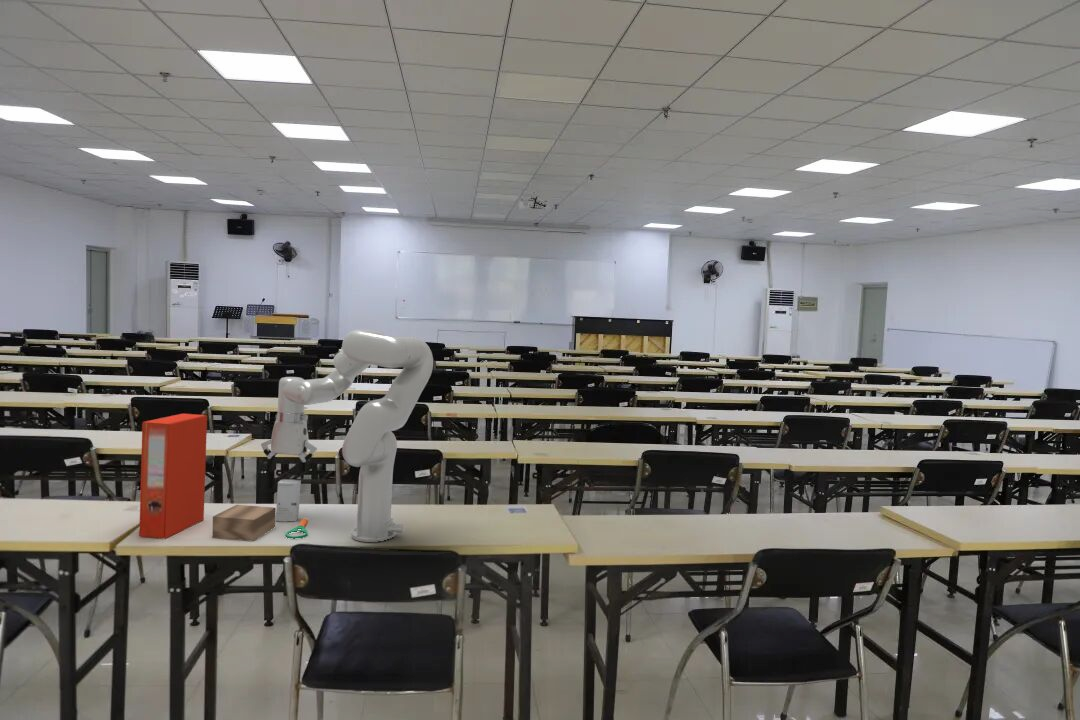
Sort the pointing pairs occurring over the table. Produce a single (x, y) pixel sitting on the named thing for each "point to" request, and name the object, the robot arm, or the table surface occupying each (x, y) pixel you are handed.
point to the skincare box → (288, 500)
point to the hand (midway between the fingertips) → (287, 472)
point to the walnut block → (243, 522)
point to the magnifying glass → (300, 526)
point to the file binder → (172, 474)
